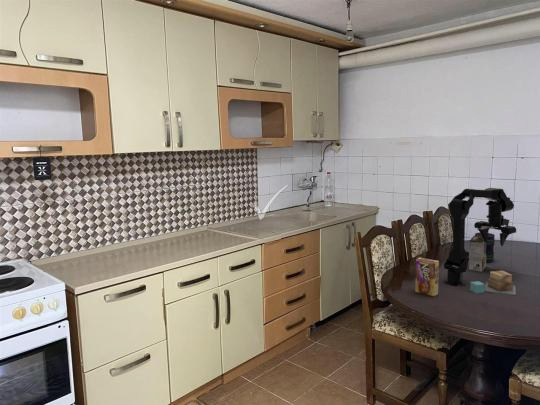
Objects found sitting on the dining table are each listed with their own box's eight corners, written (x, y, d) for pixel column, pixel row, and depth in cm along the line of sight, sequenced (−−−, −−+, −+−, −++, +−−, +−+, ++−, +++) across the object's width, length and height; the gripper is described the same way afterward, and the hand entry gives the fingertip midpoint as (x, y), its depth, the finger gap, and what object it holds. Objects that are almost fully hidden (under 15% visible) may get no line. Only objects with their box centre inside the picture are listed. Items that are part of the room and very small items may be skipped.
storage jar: (489, 258, 230) (490, 232, 228) (496, 263, 220) (498, 236, 218) (470, 258, 231) (471, 232, 229) (477, 263, 222) (478, 236, 219)
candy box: (438, 293, 180) (439, 260, 178) (434, 296, 177) (435, 262, 175) (419, 289, 186) (419, 257, 184) (414, 291, 183) (415, 259, 181)
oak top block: (499, 283, 180) (499, 275, 179) (489, 279, 185) (490, 271, 185) (511, 282, 181) (511, 274, 180) (501, 277, 186) (502, 270, 186)
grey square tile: (515, 295, 175) (515, 294, 175) (484, 291, 181) (484, 290, 181) (515, 286, 186) (515, 285, 186) (485, 282, 192) (485, 282, 192)
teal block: (476, 293, 179) (476, 284, 179) (470, 290, 183) (470, 281, 183) (484, 292, 180) (484, 284, 179) (478, 289, 184) (478, 281, 183)
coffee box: (472, 264, 218) (473, 235, 215) (486, 266, 214) (487, 236, 211) (468, 269, 211) (469, 240, 208) (482, 272, 207) (483, 241, 204)
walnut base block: (498, 291, 179) (499, 283, 179) (487, 286, 186) (488, 278, 186) (512, 290, 181) (513, 282, 180) (501, 284, 187) (501, 277, 187)
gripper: (524, 213, 195) (522, 245, 198) (488, 208, 212) (487, 237, 214) (509, 217, 190) (508, 249, 193) (473, 211, 207) (473, 241, 210)
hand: (494, 244), depth 203 cm, fingers open, 8 cm apart
